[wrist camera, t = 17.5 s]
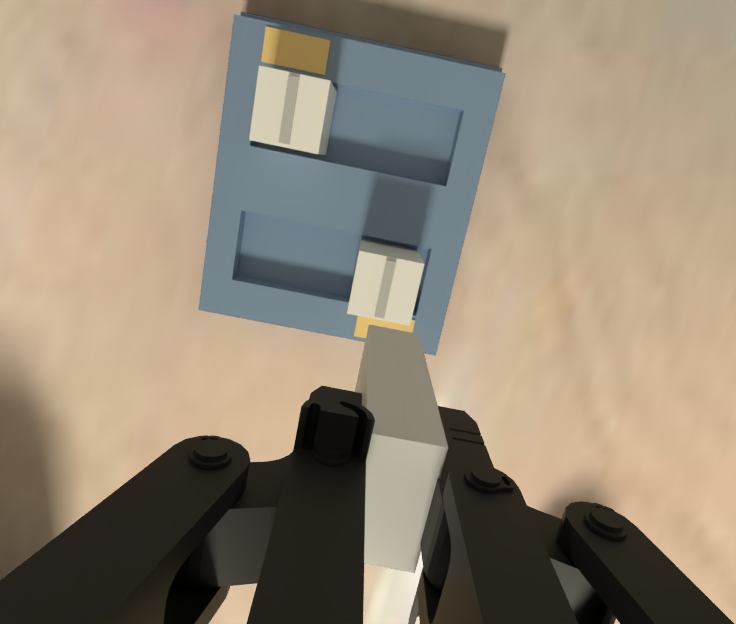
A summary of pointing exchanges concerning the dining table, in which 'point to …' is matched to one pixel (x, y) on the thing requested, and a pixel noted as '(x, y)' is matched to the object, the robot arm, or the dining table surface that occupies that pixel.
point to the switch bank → (344, 179)
